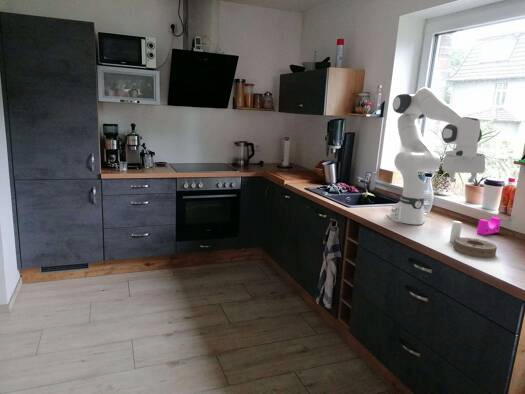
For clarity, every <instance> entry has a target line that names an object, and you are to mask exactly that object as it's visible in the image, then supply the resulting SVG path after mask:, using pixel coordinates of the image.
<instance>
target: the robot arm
mask: <svg viewBox="0 0 525 394" xmlns="http://www.w3.org/2000/svg"><path fill="white" fill-rule="evenodd" d="M392 109H393V111H394V112H395V113H397V114H400V116H399V117H398V118H397V129H398V135H399V139H400V142H401V146H402V148H404V150H406V151H400V152H398V153H397V154H396V156H395V157H394V166H395V168H396V169H397V170H398V172H400V174H401V176H402V182H403V183H402V184H403V186H402V187H403V188H402V195H400V196H399V202H397V203H396V204H394V205H393V206H392V207H391V211H390V213H386V216H387V217H388V218H390V219H391V220H392V221H393V222H396V223H403V224H407V225H423V224H424V223H425V222H426V219H424V218H425V207H424V206H423V205H424V204H425V198H424V197H425V189H426V182H424V181H423V180H422V179H421V178H420V177H419V173H430V172H431V173H432V172H435V171H437V170H438V169H439V168H440V167H441V169H442V171H443V172H446V173H448V176H449V179H450V182H451V183H456V181H457V178H455V176H454V175H455V174H456V173H459V174H460V173H461V174H462V173H463V174H464V173H466V174H470V177H469V178H467V182H468V183H469V184H470V183H471V184H472V183H474V181H475V178H477V174H483V173H485V170H486V156H485V154H484V153H483V152H478V149H479V148H478V146H479V142H480V141H481V139H482V136H483V131H482V129H481V119H479V118H478V117H476V116H470V115H464V116H463V115H462V114H461V113H460V112H459V111H457V109H455V108H453V106H450V105H449V104H447V103H446V102H445V100H443V99H442V98H441V97H440V96H439V95H438V94H437V93H436V92H435V91H433V90H432V89H430V88H429V87H422V88H419V89H418V90H417V91H416V93H414V94H410V93H409V94H408V93H401V94H398V95H396V96H395V97H394V99H393V101H392ZM425 117H426V118H427V119H430V120H434V121H440V122H445V123H447V124H446V125H445V126H444V127H443V128H442V131H441V139H442V141H443V142H444V143H445V144H449V145H455V147H452V148H450V149H446V150H445V151H444V154H445V156H444V158H443V160H441V157H440V155H439V154H437V153H435V152H434V151H433V150H432V149H431V148H430V147H429V146H428V145H427V143H426V142H425V140H424V138H423V136H422V132H421V129H420V125H419V123H418V122H419V121H418V120H419V119H420V120H421V119H424V118H425ZM441 164H442V166H441Z"/></svg>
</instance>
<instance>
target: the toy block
mask: <svg viewBox="0 0 525 394" xmlns="http://www.w3.org/2000/svg"><path fill="white" fill-rule="evenodd" d="M501 220H502V218H499V217H495V216H491V217H490V220H486V219H479V220H478V224H477V229H476V234H478V235H482V236H486V235H491V234H496V233H499V232H500V226H501Z"/></svg>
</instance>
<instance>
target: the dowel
mask: <svg viewBox="0 0 525 394" xmlns="http://www.w3.org/2000/svg"><path fill="white" fill-rule="evenodd" d="M462 226H463V222H461V221H458V220H453V221H452V225H451V230H450V237H449V243H451V244H454V241H455V239H456V238H459V237H461V232H462Z"/></svg>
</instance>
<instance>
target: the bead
mask: <svg viewBox="0 0 525 394" xmlns="http://www.w3.org/2000/svg"><path fill="white" fill-rule="evenodd" d="M497 248H498V247H497V245H496V244H494V243H492V242H490V241H487V240H484V239H479V238H473V237H467V236H466V237H464V236H463V237H461V236H460V237H459V238H456V239H455V241H454V243H453V250H454V251H456V252H458V253H460V254H462V255H465V256H469V257H474V258H480V259H481V258H482V259H493V258H494V257H496V256H497V255H496V254H497Z"/></svg>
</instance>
